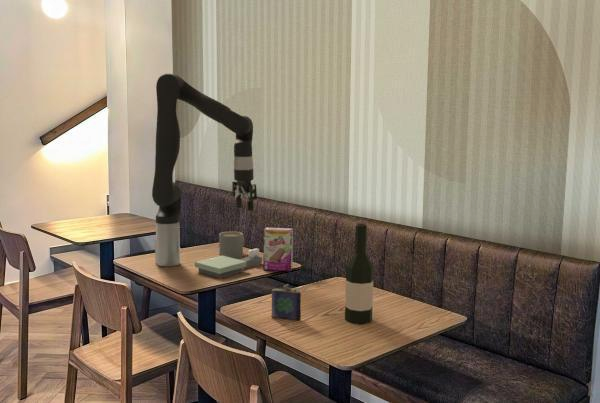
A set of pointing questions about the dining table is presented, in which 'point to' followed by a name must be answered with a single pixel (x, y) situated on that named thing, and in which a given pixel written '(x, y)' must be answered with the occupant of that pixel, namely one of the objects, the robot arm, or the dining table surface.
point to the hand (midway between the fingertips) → (244, 209)
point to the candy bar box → (278, 249)
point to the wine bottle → (359, 281)
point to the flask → (286, 304)
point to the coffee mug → (231, 244)
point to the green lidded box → (220, 266)
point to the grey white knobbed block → (252, 258)
